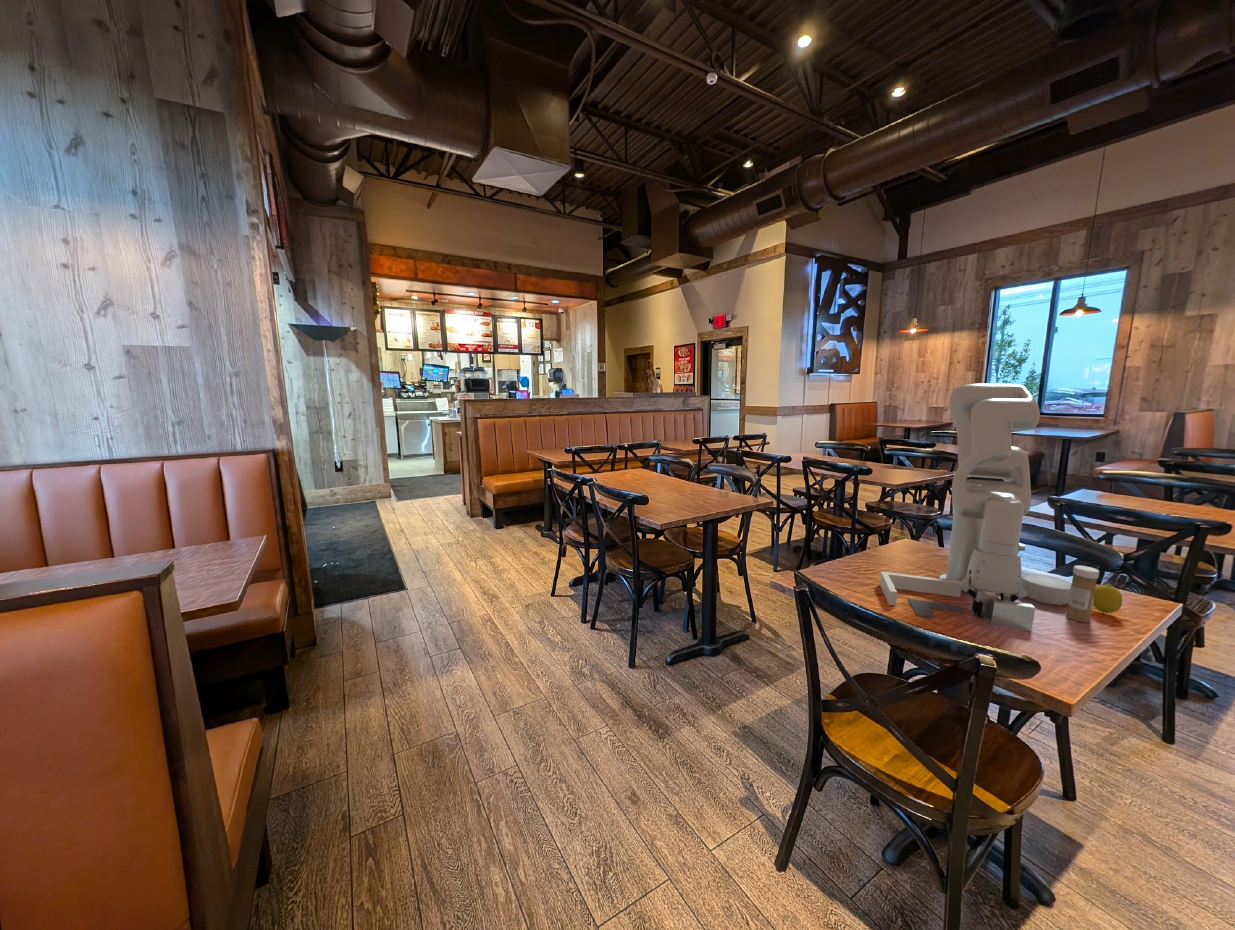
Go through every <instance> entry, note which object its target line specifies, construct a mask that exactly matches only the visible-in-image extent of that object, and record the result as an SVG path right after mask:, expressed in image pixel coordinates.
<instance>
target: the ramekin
mask: <svg viewBox="0 0 1235 930" xmlns="http://www.w3.org/2000/svg"><path fill="white" fill-rule="evenodd" d="M1071 584H1072V582H1071V581H1068V580H1066V579H1063V578H1059V577H1056V576H1052V575H1048V574H1044V573H1043V574H1041V573H1030V572H1029V573H1023V574H1022V573H1021V585H1022V586H1023V588H1024V589H1025V591H1026V593H1027V596H1025V598H1028V599H1030V600H1032V599H1033V601H1035V602H1038V601H1039V602H1038V603H1041V602H1042V603H1043V604H1046V603H1048V604H1047V605H1051V604H1064V605H1066V604H1068V602H1069V595H1070V590H1071Z"/></svg>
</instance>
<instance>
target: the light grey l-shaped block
mask: <svg viewBox="0 0 1235 930" xmlns="http://www.w3.org/2000/svg"><path fill="white" fill-rule="evenodd" d="M959 583H960V581H953V580H945V579H939V578H935V577H927V576H920V575H910V574H905V573H904V574H903V573H897V572H896V573H894V572H887V571H880V576H879V586H880V588H882V589H881V591H882V593H883V596H884V595H885V596H884V598H885V599H887V600H886V602H887V601H888V602H887V604H888V603H889V604H892V605H895V606H894V607H897V600H898V599H897V597H898V591H897V590H904V591H911V592H919V593H926V594H927V593H928V594H934V595H940V596H942V595H943V596H948V597H949V596H950V597H956V598H961V593H962V591H961V587H960V586H959ZM895 588H896V589H895ZM889 604H888V605H889Z"/></svg>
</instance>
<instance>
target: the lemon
mask: <svg viewBox="0 0 1235 930" xmlns="http://www.w3.org/2000/svg"><path fill="white" fill-rule="evenodd" d="M1122 605H1123V595H1122V593H1121V592H1120V590H1119V589H1117V587H1114V586H1113V585H1112V584H1109V583H1108V584H1101V585H1098V586H1096V588H1095V594H1094V602H1093V607H1094V608H1095V609H1096V610H1098V611H1100V612H1101V613H1102V612H1105V613H1107V614H1108V613H1109V614H1110V613H1115V612H1117V611H1119V610H1120V609H1121V607H1122Z"/></svg>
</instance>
